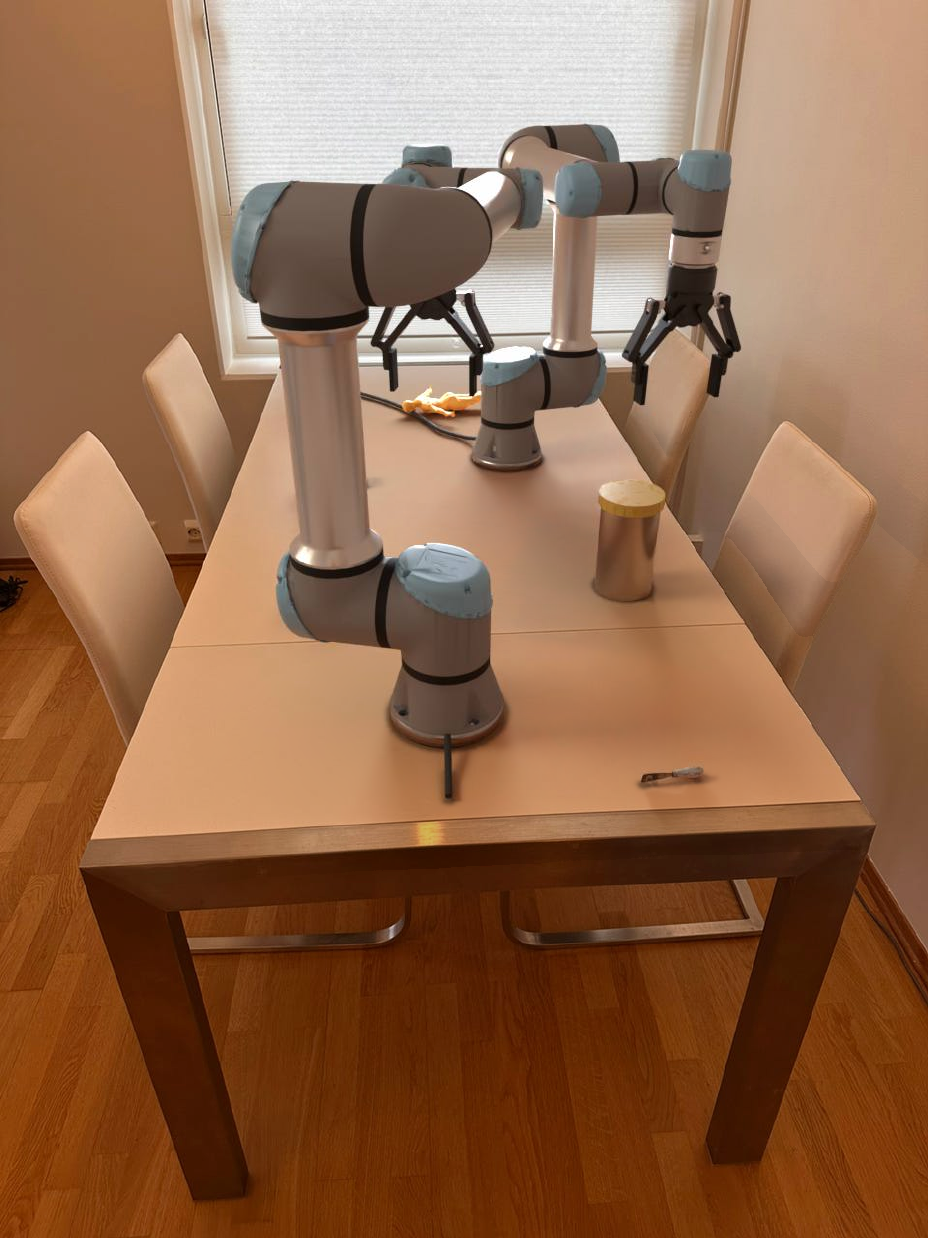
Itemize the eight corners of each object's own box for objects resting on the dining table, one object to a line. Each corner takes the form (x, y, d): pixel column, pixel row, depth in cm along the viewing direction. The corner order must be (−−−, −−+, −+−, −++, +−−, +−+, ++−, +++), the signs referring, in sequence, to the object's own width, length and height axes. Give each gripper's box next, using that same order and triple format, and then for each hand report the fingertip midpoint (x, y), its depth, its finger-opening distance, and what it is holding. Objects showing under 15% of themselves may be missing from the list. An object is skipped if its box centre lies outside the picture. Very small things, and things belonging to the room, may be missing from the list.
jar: (589, 596, 147) (596, 503, 138) (600, 569, 155) (607, 480, 146) (646, 605, 145) (657, 511, 136) (654, 577, 152) (666, 487, 143)
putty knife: (703, 777, 109) (705, 767, 109) (642, 788, 108) (644, 777, 107) (700, 772, 110) (702, 762, 109) (639, 782, 109) (640, 771, 108)
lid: (592, 513, 139) (593, 501, 138) (604, 487, 147) (605, 476, 146) (659, 521, 136) (660, 510, 135) (668, 495, 144) (669, 483, 143)
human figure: (395, 413, 223) (394, 398, 221) (438, 390, 237) (438, 375, 235) (462, 429, 215) (462, 413, 213) (502, 404, 229) (503, 388, 227)
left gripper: (513, 255, 139) (510, 389, 150) (360, 249, 144) (368, 380, 155) (505, 264, 133) (502, 403, 144) (345, 258, 137) (355, 393, 149)
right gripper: (629, 273, 131) (617, 413, 142) (777, 263, 137) (754, 398, 148) (608, 264, 137) (597, 398, 149) (751, 254, 143) (730, 384, 155)
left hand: (433, 391), depth 149 cm, fingers open, 13 cm apart
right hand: (676, 398), depth 149 cm, fingers open, 13 cm apart
